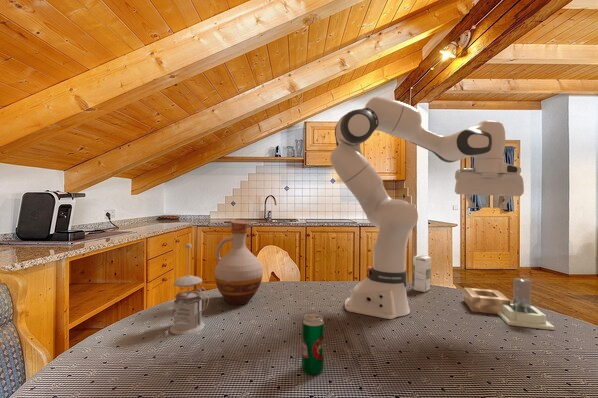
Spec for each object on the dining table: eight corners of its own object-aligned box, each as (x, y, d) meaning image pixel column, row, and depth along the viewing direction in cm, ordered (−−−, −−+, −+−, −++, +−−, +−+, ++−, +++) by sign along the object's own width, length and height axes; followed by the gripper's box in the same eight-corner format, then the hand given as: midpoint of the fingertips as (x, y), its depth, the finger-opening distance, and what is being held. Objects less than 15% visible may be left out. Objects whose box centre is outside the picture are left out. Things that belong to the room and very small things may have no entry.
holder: (508, 324, 92) (508, 313, 92) (494, 310, 104) (494, 301, 104) (554, 330, 89) (554, 318, 89) (534, 315, 100) (535, 304, 100)
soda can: (300, 363, 69) (301, 312, 69) (321, 363, 69) (322, 312, 69) (302, 376, 64) (303, 321, 64) (325, 376, 64) (326, 321, 64)
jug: (199, 304, 106) (200, 221, 106) (229, 290, 123) (230, 218, 123) (245, 313, 99) (246, 224, 99) (270, 297, 115) (271, 220, 115)
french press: (185, 318, 94) (186, 240, 94) (216, 324, 90) (217, 242, 90) (162, 331, 85) (163, 244, 85) (195, 338, 81) (196, 247, 81)
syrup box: (417, 286, 131) (417, 254, 131) (431, 289, 127) (431, 256, 127) (412, 289, 127) (412, 256, 127) (425, 292, 123) (426, 258, 123)
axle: (516, 318, 95) (517, 281, 95) (510, 313, 99) (511, 277, 99) (533, 320, 93) (533, 282, 93) (526, 314, 98) (526, 278, 98)
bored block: (472, 311, 103) (472, 296, 103) (463, 300, 114) (463, 287, 114) (510, 315, 100) (510, 300, 100) (497, 303, 111) (497, 290, 111)
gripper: (457, 167, 102) (455, 207, 102) (527, 168, 96) (525, 210, 96) (453, 169, 108) (451, 206, 108) (518, 170, 102) (516, 209, 102)
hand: (486, 208), depth 102 cm, fingers open, 8 cm apart
